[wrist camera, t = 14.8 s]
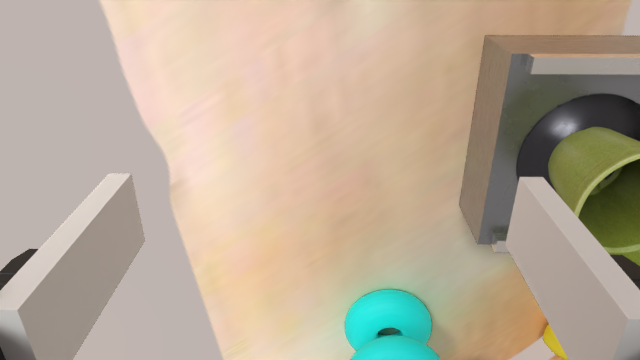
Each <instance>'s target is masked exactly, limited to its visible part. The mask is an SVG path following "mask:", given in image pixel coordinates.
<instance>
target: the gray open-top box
mask: <svg viewBox="0 0 640 360" xmlns="http://www.w3.org/2000/svg"><path fill="white" fill-rule="evenodd" d="M591 127H604V128H608V129H611V130H613V131H616V132H618V133H621V134H623V135H625V136H627V137H630V138H632V139H635V140H637V141H640V36H507V35H485V39H484V46H483V52H482V59H481V65H480V72H479V78H478V85H477V92H476V98H475V105H474V111H473V118H472V124H471V131H470V138H469V144H468V151H467V157H466V164H465V170H464V177H463V184H462V190H461V197H460V203H459V205H460V208H461V210H462V212H463V214H464V216H465V218H466V221H467V223H468V225H469V227H470V229H471V231H472V233H473V236H474V238H475V240H476V242H477V244H491V246H492V248H493V249H494V251H495V252H504V253H509V251H508V249H507V247H506V245H505V243H506V239H507V234H508V229H509V225H510V220H511V215H512V211H513V206H514V201H515V197H516V192H517V187H518V182H519V178H520V177H543V178H544V179H545V180H546V181H547V182H548V184H549V185H550V186H551V187H552V188H553V189H554V191H555V192H556V190H555V188H554V186H553V184H552V182H551V180H550V177H549V171H548V162H549V159H550V156H551V154H552V152H553V150H554V149H555V147H556V146H557V145H558V144H559V143H560V142H561V141H562V140H563V139H564V138H565V137H567V136H568V135H570V134H572V133H575V132H578V131H581V130H585V129H588V128H591ZM614 171H615V170H614ZM614 171H613V172H614ZM613 172H612V173H610V174H609V175H607V176H606V177H605V178H604V179H605V180H606V179H607V178H609V177H610V176H611V175H612V174H613ZM556 193H557V192H556Z"/></svg>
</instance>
